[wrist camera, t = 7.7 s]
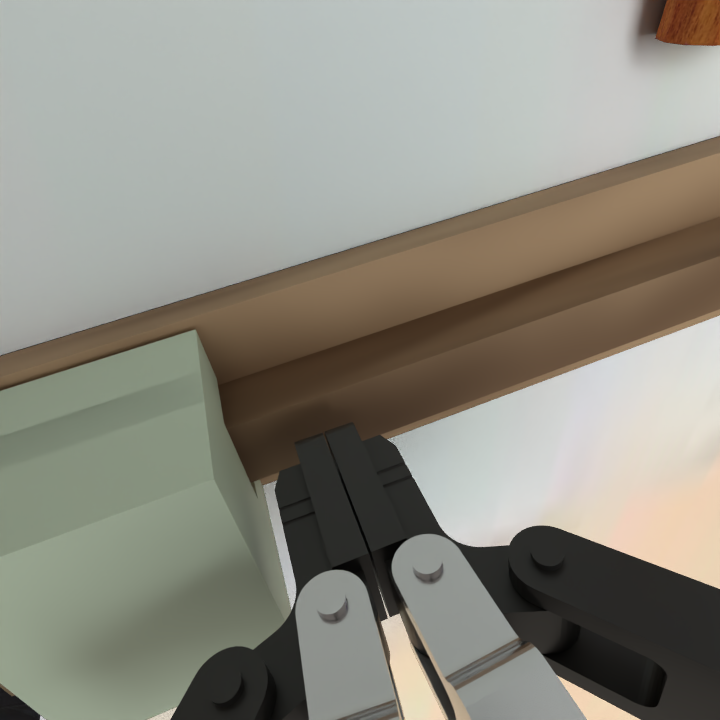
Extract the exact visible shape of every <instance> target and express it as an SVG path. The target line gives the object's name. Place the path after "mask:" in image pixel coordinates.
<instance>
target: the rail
mask: <svg viewBox="0 0 720 720" xmlns="http://www.w3.org/2000/svg"><path fill="white" fill-rule="evenodd" d="M719 315H720V136H719V137H716V138H712V139H709V140H706V141H703V142H699V143H696V144H693V145H690V146H686V147H683V148H680V149H676V150H673V151H670V152H667V153H663V154H660V155H657V156H654V157H650V158H647V159H644V160H640V161H637V162H634V163H631V164H627V165H624V166H621V167H618V168H614V169H611V170H608V171H604V172H601V173H598V174H595V175H591V176H588V177H585V178H582V179H578V180H575V181H572V182H568V183H565V184H562V185H559V186H555V187H552V188H549V189H546V190H542V191H539V192H536V193H532V194H529V195H526V196H523V197H519V198H516V199H513V200H510V201H506V202H503V203H500V204H496V205H493V206H490V207H487V208H483V209H480V210H477V211H474V212H470V213H467V214H464V215H460V216H457V217H454V218H451V219H447V220H444V221H441V222H438V223H434V224H431V225H428V226H424V227H421V228H418V229H415V230H411V231H408V232H405V233H402V234H398V235H395V236H392V237H388V238H385V239H382V240H379V241H375V242H372V243H369V244H366V245H362V246H359V247H356V248H352V249H349V250H346V251H343V252H339V253H336V254H333V255H330V256H326V257H323V258H320V259H316V260H313V261H310V262H307V263H303V264H300V265H297V266H294V267H290V268H287V269H284V270H280V271H277V272H274V273H271V274H267V275H264V276H261V277H258V278H254V279H251V280H248V281H245V282H241V283H238V284H235V285H231V286H228V287H225V288H222V289H218V290H215V291H212V292H209V293H205V294H202V295H199V296H195V297H192V298H189V299H186V300H182V301H179V302H176V303H173V304H169V305H166V306H163V307H159V308H156V309H153V310H150V311H146V312H143V313H140V314H137V315H133V316H130V317H127V318H123V319H120V320H117V321H114V322H110V323H107V324H104V325H101V326H97V327H94V328H91V329H87V330H84V331H81V332H78V333H74V334H71V335H68V336H65V337H61V338H58V339H55V340H51V341H48V342H45V343H42V344H38V345H35V346H32V347H29V348H25V349H22V350H19V351H15V352H12V353H9V354H6V355H2V356H0V391H2V390H5V389H8V388H11V387H14V386H17V385H21V384H24V383H27V382H30V381H33V380H36V379H40V378H43V377H46V376H49V375H52V374H55V373H59V372H62V371H65V370H68V369H71V368H74V367H78V366H81V365H84V364H87V363H90V362H93V361H97V360H100V359H103V358H106V357H109V356H112V355H116V354H119V353H122V352H125V351H128V350H131V349H135V348H138V347H141V346H144V345H147V344H150V343H154V342H157V341H160V340H163V339H166V338H169V337H173V336H176V335H179V334H182V333H185V332H188V331H192V330H195V329H196V331H197V334H198V336H199V338H200V341H201V343H202V346H203V348H204V350H205V353H206V355H207V357H208V360H209V362H210V364H211V367H212V369H213V371H214V374H215V376H216V378H217V383H218V389H219V395H220V401H221V407H222V413H223V419H224V424H225V426H226V429H227V431H228V433H229V435H230V438H231V440H232V442H233V444H234V447H235V449H236V451H237V453H238V456H239V458H240V460H241V462H242V465H243V467H244V469H245V471H246V474H247V476H248V478H249V480H250V483H252V482H254V481H257V480H260V481H261V484H262V485H265V484H268V483H271V482H273V481H276V480H277V479H278V475H279V471H281V470H284V469H287V468H289V467H292V466H295V465H298V464H300V461H299V457H298V454H297V451H296V447H295V444H294V442H297V441H300V440H303V439H305V438H308V437H311V436H314V435H317V434H320V433H323V435H324V437H325V433H324V432H325V431H328V430H330V429H333V428H336V427H339V426H342V425H345V424H347V423H350V422H353V423H354V425H355V427H356V430H357V432H358V434H359V436H360V438H361V440H362V441H364V440H367V439H369V438H372V437H375V436H378V435H381V436H383V437H384V438H385V439H389V438H391V437H394V436H397V435H399V434H402V433H405V432H408V431H410V430H413V429H416V428H418V427H421V426H424V425H426V424H429V423H432V422H434V421H437V420H440V419H442V418H445V417H448V416H451V415H453V414H456V413H459V412H461V411H464V410H467V409H469V408H472V407H475V406H477V405H480V404H483V403H485V402H488V401H491V400H494V399H496V398H499V397H502V396H504V395H507V394H510V393H512V392H515V391H518V390H520V389H523V388H526V387H528V386H531V385H534V384H537V383H539V382H542V381H545V380H547V379H550V378H553V377H555V376H558V375H561V374H563V373H566V372H569V371H571V370H574V369H577V368H579V367H582V366H585V365H588V364H590V363H593V362H596V361H598V360H601V359H604V358H606V357H609V356H612V355H614V354H617V353H620V352H622V351H625V350H628V349H631V348H633V347H636V346H639V345H641V344H644V343H647V342H649V341H652V340H655V339H657V338H660V337H663V336H665V335H668V334H671V333H674V332H676V331H679V330H682V329H684V328H687V327H690V326H692V325H695V324H698V323H700V322H703V321H706V320H708V319H711V318H714V317H717V316H719ZM325 440H326V437H325ZM326 443H327V440H326ZM327 445H328V443H327ZM328 448H329V446H328ZM0 687H1V688H2V689H3V690H4V691H6V692H7V693H8V694H10V695H11V696H14V694H13V693H12V692H11V691H9V690H8V689H7V688H6V687H4V686H3V685H2V684H0Z"/></svg>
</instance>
